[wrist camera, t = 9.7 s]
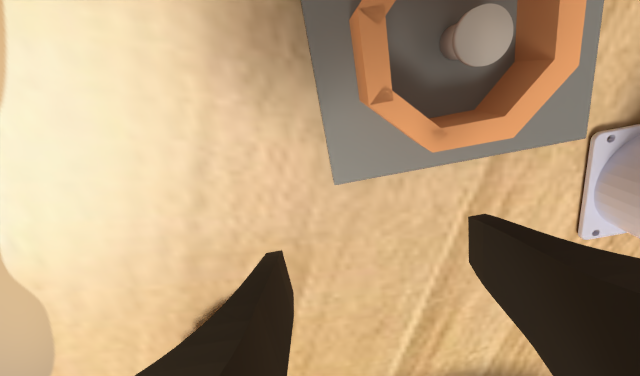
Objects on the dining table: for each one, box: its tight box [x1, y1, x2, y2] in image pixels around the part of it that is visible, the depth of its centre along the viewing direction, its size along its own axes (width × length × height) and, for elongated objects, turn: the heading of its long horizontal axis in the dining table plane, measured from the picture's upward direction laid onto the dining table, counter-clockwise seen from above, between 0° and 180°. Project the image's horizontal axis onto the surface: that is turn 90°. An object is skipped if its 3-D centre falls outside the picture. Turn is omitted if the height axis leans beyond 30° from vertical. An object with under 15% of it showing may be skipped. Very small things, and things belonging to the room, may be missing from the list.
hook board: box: [301, 0, 604, 185], centre depth 16 cm, size 16×14×4 cm
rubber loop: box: [349, 0, 587, 153], centre depth 15 cm, size 10×10×3 cm
